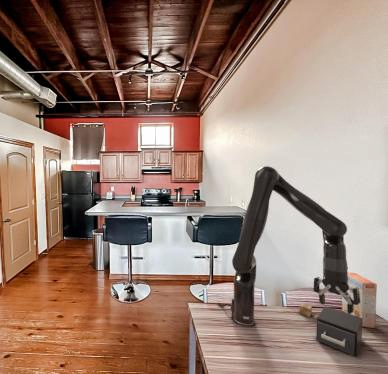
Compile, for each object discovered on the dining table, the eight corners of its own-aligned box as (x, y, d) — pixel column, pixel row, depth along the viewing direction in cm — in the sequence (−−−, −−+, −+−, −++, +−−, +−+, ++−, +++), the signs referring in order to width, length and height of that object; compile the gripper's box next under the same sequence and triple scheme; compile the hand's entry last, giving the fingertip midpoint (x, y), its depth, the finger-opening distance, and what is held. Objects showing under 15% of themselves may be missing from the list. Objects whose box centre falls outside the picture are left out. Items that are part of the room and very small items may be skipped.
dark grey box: (356, 356, 89) (357, 332, 89) (316, 339, 99) (316, 317, 99) (361, 340, 99) (362, 318, 98) (324, 326, 108) (324, 306, 108)
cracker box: (376, 329, 106) (377, 283, 106) (361, 327, 108) (362, 282, 107) (354, 312, 120) (355, 272, 120) (341, 311, 121) (342, 271, 121)
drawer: (352, 362, 85) (352, 341, 85) (314, 345, 94) (314, 326, 94) (359, 340, 97) (359, 322, 97) (324, 327, 106) (325, 310, 106)
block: (299, 313, 119) (299, 305, 119) (302, 310, 121) (302, 302, 121) (309, 317, 116) (309, 309, 115) (311, 314, 118) (311, 306, 118)
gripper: (310, 264, 97) (311, 303, 97) (355, 275, 85) (356, 319, 85) (317, 261, 101) (318, 298, 101) (361, 271, 89) (362, 313, 89)
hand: (335, 308), depth 93 cm, fingers open, 8 cm apart
